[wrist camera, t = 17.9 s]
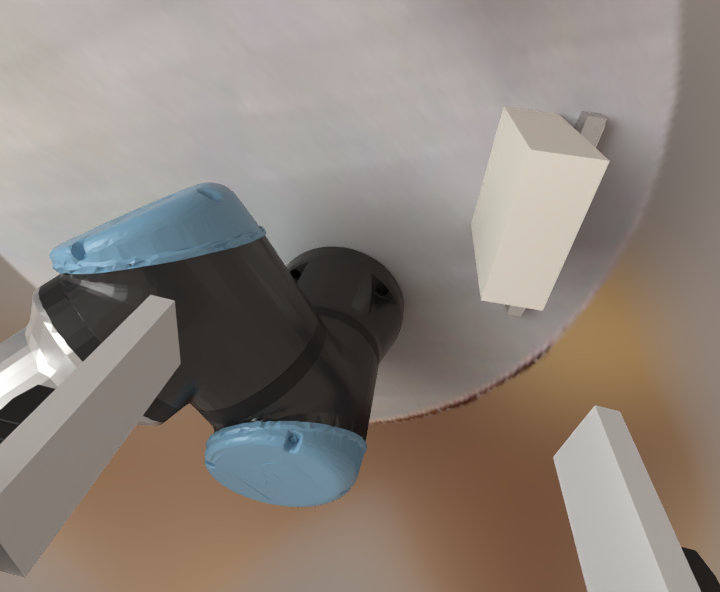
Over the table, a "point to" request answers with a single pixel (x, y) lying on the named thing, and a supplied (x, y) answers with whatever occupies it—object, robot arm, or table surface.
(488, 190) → the carton box
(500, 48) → the table surface
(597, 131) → the rail
